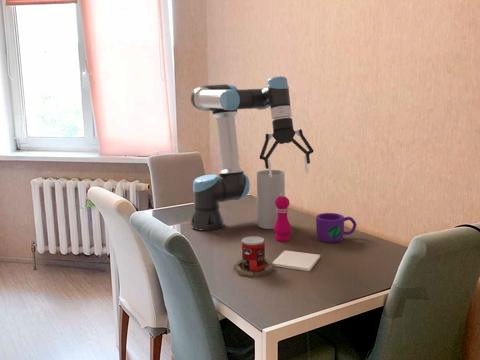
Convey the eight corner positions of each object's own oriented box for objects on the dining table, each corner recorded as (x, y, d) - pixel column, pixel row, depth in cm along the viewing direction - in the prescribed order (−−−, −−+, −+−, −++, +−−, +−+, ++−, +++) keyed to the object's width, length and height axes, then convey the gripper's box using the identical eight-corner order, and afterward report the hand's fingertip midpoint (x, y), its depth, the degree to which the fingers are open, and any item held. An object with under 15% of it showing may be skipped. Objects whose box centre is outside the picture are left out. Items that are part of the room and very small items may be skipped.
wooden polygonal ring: (228, 273, 164) (228, 269, 163) (244, 260, 175) (244, 256, 175) (264, 278, 158) (264, 274, 158) (277, 264, 170) (277, 260, 170)
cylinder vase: (254, 228, 213) (252, 174, 208) (263, 220, 224) (262, 169, 219) (280, 231, 208) (279, 175, 203) (288, 223, 220) (287, 170, 214)
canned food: (241, 265, 170) (240, 236, 168) (263, 264, 171) (262, 235, 169) (243, 274, 163) (242, 244, 161) (266, 272, 163) (265, 242, 161)
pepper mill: (290, 242, 193) (290, 195, 189) (272, 241, 195) (272, 194, 191) (292, 236, 200) (291, 191, 196) (275, 236, 202) (274, 190, 198)
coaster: (271, 265, 169) (271, 263, 169) (284, 252, 182) (284, 250, 181) (309, 271, 163) (309, 268, 163) (320, 257, 176) (320, 254, 176)
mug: (321, 245, 189) (322, 221, 187) (312, 236, 200) (312, 213, 198) (362, 241, 192) (362, 217, 190) (350, 232, 203) (350, 210, 201)
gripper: (248, 122, 173) (255, 179, 174) (315, 113, 171) (323, 171, 171) (249, 124, 181) (256, 178, 181) (314, 115, 178) (321, 170, 178)
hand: (288, 175), depth 176 cm, fingers open, 13 cm apart
